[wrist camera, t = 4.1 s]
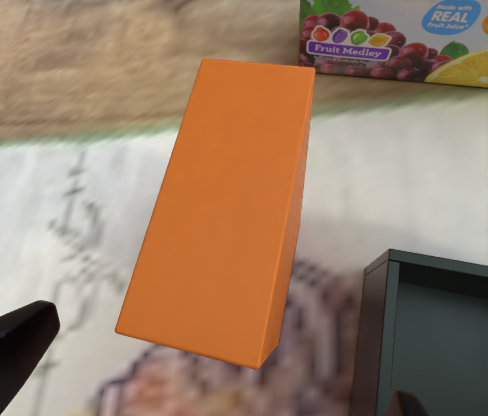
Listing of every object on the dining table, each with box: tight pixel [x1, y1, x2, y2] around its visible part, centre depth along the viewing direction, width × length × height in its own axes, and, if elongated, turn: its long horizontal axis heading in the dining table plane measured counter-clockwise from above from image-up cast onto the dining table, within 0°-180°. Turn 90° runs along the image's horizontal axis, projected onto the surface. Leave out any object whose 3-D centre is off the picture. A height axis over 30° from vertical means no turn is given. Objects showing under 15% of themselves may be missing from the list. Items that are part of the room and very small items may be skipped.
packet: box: [115, 59, 315, 370], centre depth 14 cm, size 7×3×13 cm, turn 167°
